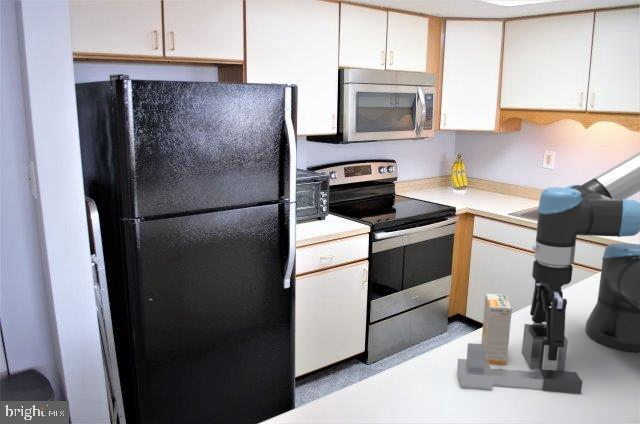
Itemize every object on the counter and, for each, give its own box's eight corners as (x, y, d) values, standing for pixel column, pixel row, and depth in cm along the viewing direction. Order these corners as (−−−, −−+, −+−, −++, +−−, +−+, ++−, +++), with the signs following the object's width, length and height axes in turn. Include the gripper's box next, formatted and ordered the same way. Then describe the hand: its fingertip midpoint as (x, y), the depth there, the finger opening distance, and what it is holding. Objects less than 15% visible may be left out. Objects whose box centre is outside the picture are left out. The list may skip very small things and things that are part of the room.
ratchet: (572, 380, 105) (576, 347, 103) (583, 397, 99) (587, 362, 97) (456, 371, 108) (459, 339, 106) (460, 387, 102) (463, 353, 100)
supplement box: (507, 365, 111) (513, 308, 108) (484, 363, 112) (489, 306, 109) (502, 347, 118) (507, 294, 116) (480, 345, 119) (485, 292, 117)
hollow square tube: (554, 355, 115) (557, 326, 114) (564, 371, 108) (568, 340, 107) (521, 352, 116) (524, 324, 114) (529, 368, 109) (533, 338, 108)
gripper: (521, 246, 118) (513, 337, 123) (549, 279, 97) (538, 386, 102) (556, 247, 117) (546, 339, 122) (591, 281, 96) (577, 389, 101)
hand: (542, 360), depth 112 cm, fingers open, 9 cm apart
